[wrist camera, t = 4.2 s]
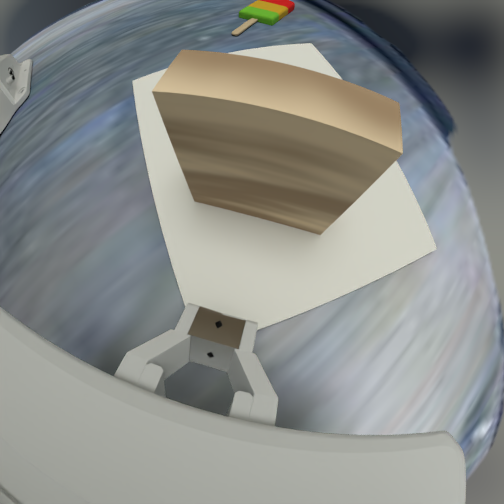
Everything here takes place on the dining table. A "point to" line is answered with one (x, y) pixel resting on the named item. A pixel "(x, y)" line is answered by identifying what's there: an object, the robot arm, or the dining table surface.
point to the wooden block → (275, 136)
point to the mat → (275, 229)
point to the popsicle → (264, 13)
